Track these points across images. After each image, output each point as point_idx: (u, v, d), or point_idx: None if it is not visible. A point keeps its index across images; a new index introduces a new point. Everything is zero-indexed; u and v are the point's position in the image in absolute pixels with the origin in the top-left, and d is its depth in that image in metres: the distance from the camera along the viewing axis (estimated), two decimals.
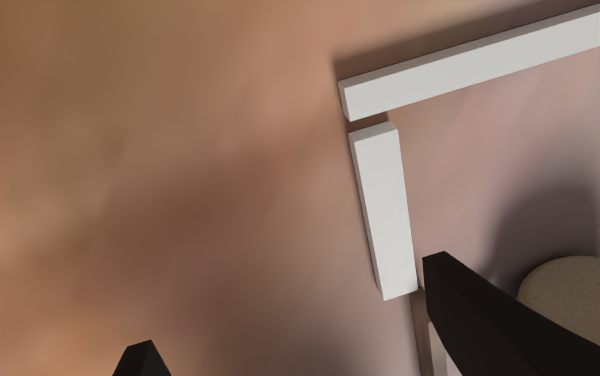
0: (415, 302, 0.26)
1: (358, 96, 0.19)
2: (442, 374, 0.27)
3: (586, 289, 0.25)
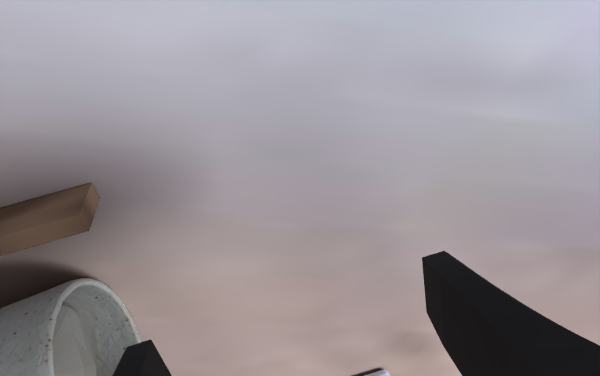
0: None
1: None
2: None
3: None
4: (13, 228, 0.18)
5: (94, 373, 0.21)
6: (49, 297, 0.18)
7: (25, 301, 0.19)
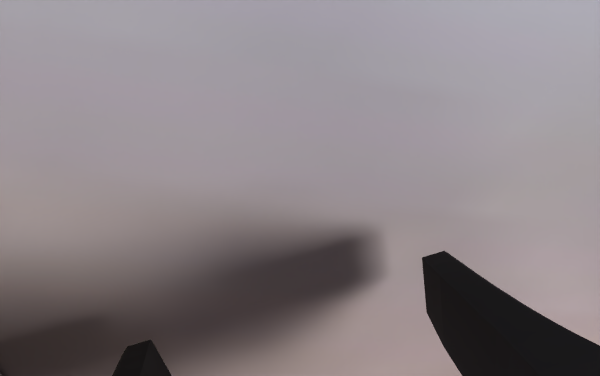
0: None
1: None
2: None
3: None
4: None
5: None
6: None
7: None
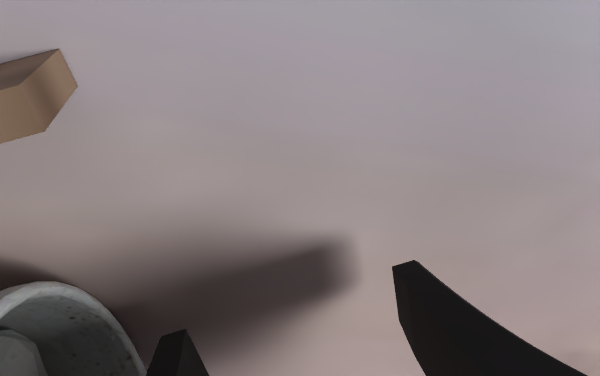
0: None
1: None
2: None
3: None
4: None
5: None
6: None
7: None
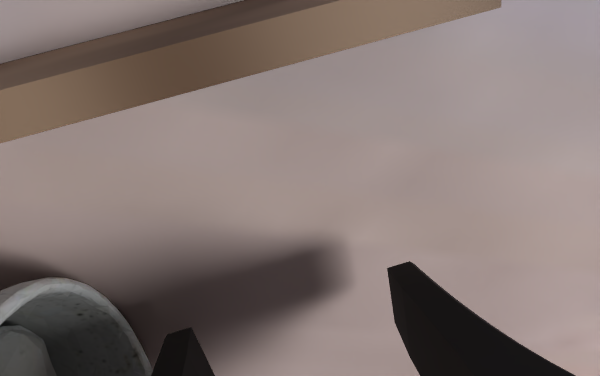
0: None
1: None
2: None
3: None
4: None
5: None
6: None
7: None
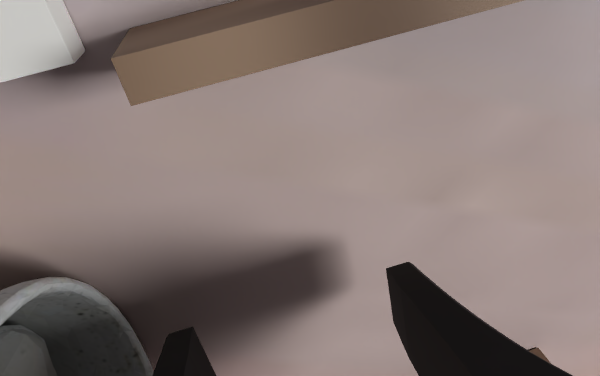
0: None
1: None
2: None
3: None
4: None
5: None
6: None
7: None
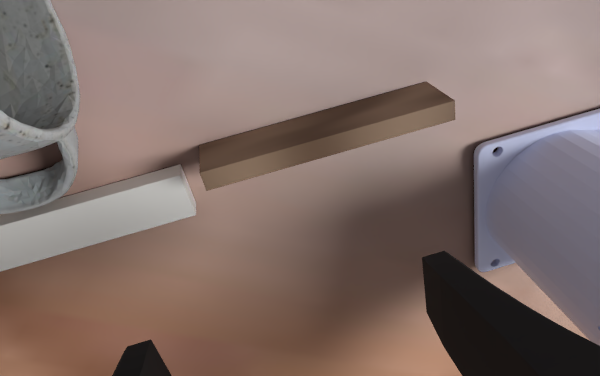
0: None
1: None
2: (325, 144, 0.17)
3: None
4: None
5: None
6: None
7: None
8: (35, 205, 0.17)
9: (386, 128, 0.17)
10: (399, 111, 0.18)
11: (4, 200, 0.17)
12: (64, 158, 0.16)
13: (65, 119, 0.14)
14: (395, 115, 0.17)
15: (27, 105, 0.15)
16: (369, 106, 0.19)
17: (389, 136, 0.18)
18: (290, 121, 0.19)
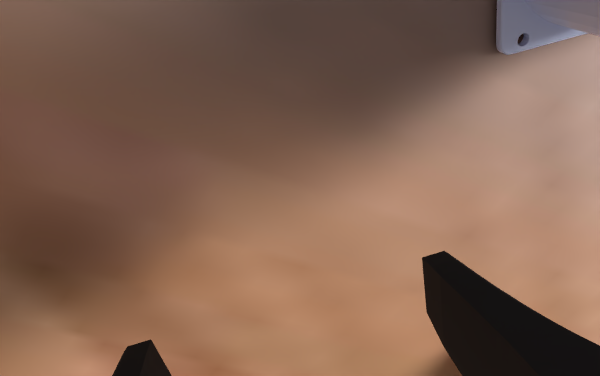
0: None
1: None
2: None
3: None
4: None
5: None
6: None
7: None
8: None
9: None
10: None
11: None
12: None
13: None
14: None
15: None
16: None
17: None
18: None
